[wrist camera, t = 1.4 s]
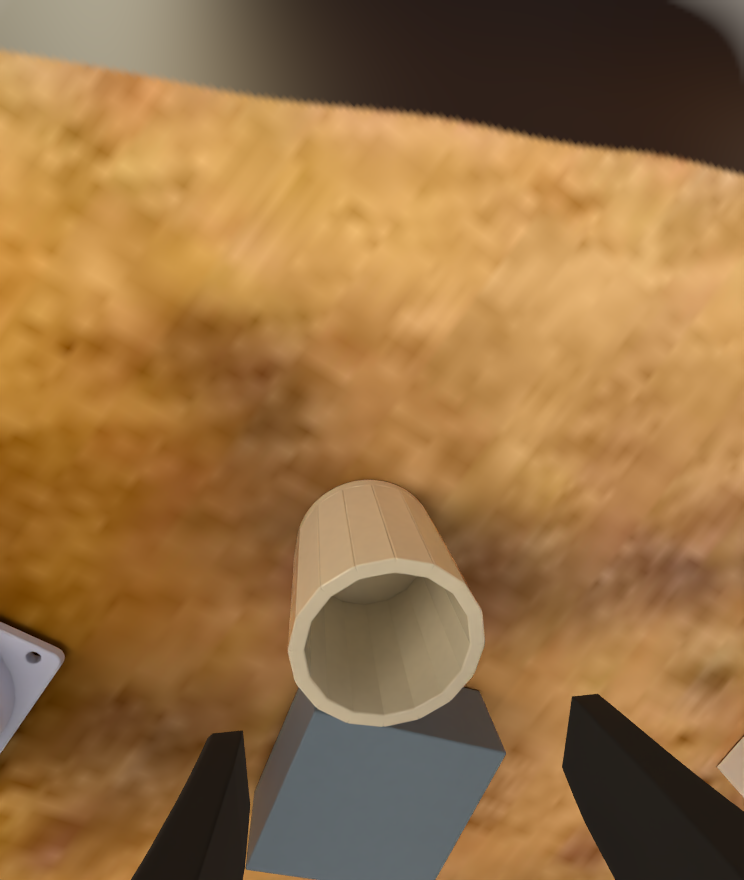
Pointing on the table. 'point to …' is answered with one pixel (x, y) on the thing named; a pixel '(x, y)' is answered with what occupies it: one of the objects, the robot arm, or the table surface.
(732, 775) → the white cube
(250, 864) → the riser block
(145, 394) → the table surface
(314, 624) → the cup
